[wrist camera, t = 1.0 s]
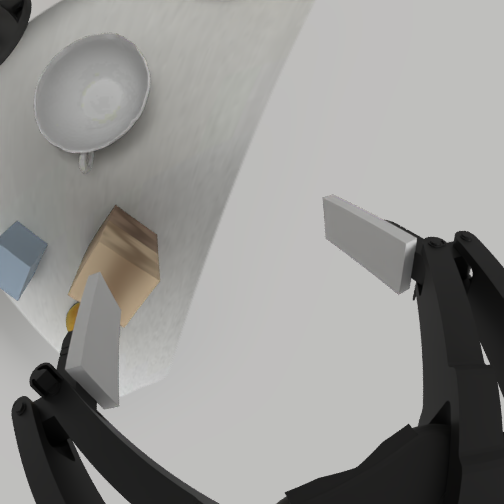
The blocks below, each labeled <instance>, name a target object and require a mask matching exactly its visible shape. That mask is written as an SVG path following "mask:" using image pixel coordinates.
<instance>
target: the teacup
mask: <svg viewBox="0 0 504 504" xmlns="http://www.w3.org/2000/svg"><path fill="white" fill-rule="evenodd" d="M149 90H150V72H149V69H148V65H147V61H146V59H145V58H144V57H143V55H142V53H141V52H140V51H139V49H138V48H137V46H136V45H135V44H134V43H133V42H131V41H129V40H127V39H126V38H125V37H123V36H121V35H119V34H117V33H101V34H94V35H90V36H86V37H84V38H82V39H79V40H77V41H75V42H73V43H72V44H70V45H69V46H67V47H65V48H64V49H63V50H62V51H60V52H59V53H58V54H57V55H55V57H54V58H53V59H52V60H51V61H50V63H49V64H48V65H47V67H46V68H45V70H44V71H43V73H42V75H41V76H40V78H39V80H38V83H37V87H36V90H35V95H34V113H35V120H36V122H37V125H38V127H39V130H40V133H42V135H43V136H44V137H45V138H46V139H47V140H48V141H49V142H50V143H51V144H52V145H54V146H57V147H59V148H60V149H62V150H64V151H67V152H71V153H81V154H80V157H79V169H80V170H81V172H82V173H83V174H88V173H89V172H90V170H91V169H92V165H93V159H94V151H96V150H99V149H102V148H104V147H106V146H108V145H110V144H112V143H114V142H115V141H117V140H118V139H119V138H121V137H122V136H123V135H124V134H125V133H127V132H128V131H129V130H130V128H131V127H132V126H133V125H134V124H135V123H136V121H137V120H138V118H139V117H140V115H141V114H142V112H143V110H144V107H145V105H146V102H147V98H148V95H149ZM88 152H89V158H88V164H87V160H86V158H87V153H88Z"/></svg>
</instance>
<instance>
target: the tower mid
mask: <svg viewBox="0 0 504 504" xmlns="http://www.w3.org/2000/svg"><path fill="white" fill-rule="evenodd" d="M98 272H101V274H102V276H103V278H104V280H105V282H106V284H107V286H108V288H109V290H110V291H111V293H112V295H113V297H114V299H115V300H116V302H117V304H118V306H119V308H120V309H121V320H120V325H121V326H122V327H125V326H126V325H127V323H128V322H129V321H130V319H131V318H132V317H133V315H134V314H135V313H136V311H137V310H138V309H139V307H140V306H141V305H142V304H143V302H144V301H145V300H146V298H147V297H148V296H149V294H150V293H151V292H152V291H153V289H154V288H155V287H156V286H157V284H158V283H159V282H160V273H159V260H158V254H157V253H156V252H154V251H153V250H151V249H150V248H148V247H147V246H145V245H144V244H142V243H141V242H140V241H138V240H137V239H135V238H134V237H132V236H131V235H129V234H128V233H127V232H125V231H124V230H122V229H121V228H119V227H118V226H117V225H115V224H114V223H112V222H111V221H110V220H108V222H107V223H106V225H105V226H104V228H103V229H102V231H101V232H100V234H99V235H98V237H97V238H96V240H95V242H94V243H93V245H92V246H91V248H90V250H89V251H88V253H87V255H86V256H85V258H84V260H83V261H82V263H81V265H80V267H79V269H78V271H77V274H76V276H75V278H74V281H73V283H72V286H71V288H70V291H69V293H68V295H69V296H70V297H72V298H73V299H75V300H77V301H78V302H81V299H82V295H83V292H84V289H85V285H86V282H87V279H88V276H90V275H92V274H95V273H98Z"/></svg>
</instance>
